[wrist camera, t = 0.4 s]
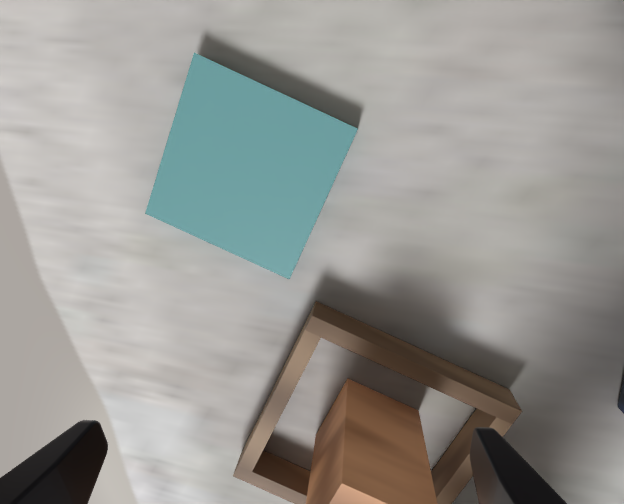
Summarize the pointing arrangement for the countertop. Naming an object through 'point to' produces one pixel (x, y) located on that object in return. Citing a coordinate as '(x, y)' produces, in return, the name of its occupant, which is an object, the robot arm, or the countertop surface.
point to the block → (370, 452)
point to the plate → (247, 166)
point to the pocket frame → (394, 355)
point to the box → (621, 398)
